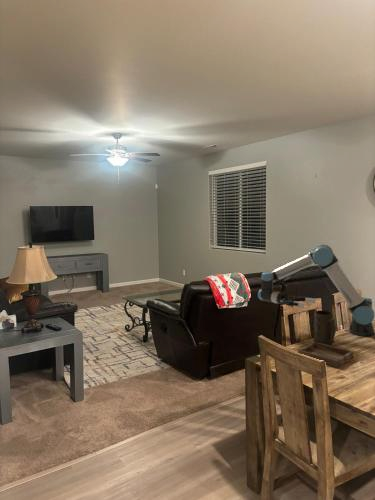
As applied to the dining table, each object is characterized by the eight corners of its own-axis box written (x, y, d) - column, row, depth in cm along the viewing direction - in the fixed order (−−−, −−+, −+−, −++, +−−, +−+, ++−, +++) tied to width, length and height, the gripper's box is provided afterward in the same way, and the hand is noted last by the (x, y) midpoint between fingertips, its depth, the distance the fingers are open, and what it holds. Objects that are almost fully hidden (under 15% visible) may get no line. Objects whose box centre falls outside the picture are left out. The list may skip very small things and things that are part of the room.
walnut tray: (314, 347, 215) (314, 341, 215) (353, 357, 199) (353, 351, 198) (297, 356, 203) (297, 350, 203) (337, 367, 186) (337, 361, 186)
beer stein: (309, 342, 223) (310, 311, 220) (321, 339, 228) (323, 308, 225) (329, 352, 210) (331, 319, 207) (342, 348, 215) (344, 316, 211)
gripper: (290, 300, 248) (319, 305, 233) (268, 307, 232) (298, 313, 216) (290, 289, 248) (319, 293, 232) (268, 295, 231) (298, 300, 215)
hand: (309, 303), depth 224 cm, fingers open, 13 cm apart
